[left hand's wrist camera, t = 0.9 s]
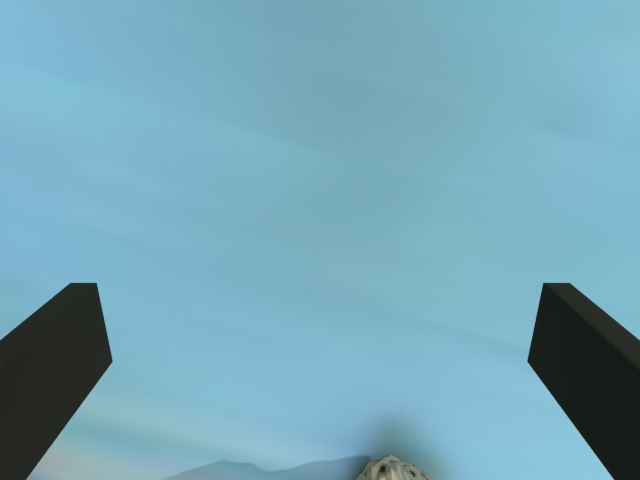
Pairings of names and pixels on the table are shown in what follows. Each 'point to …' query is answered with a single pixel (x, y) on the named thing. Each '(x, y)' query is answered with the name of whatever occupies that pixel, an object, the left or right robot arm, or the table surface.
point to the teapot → (392, 470)
